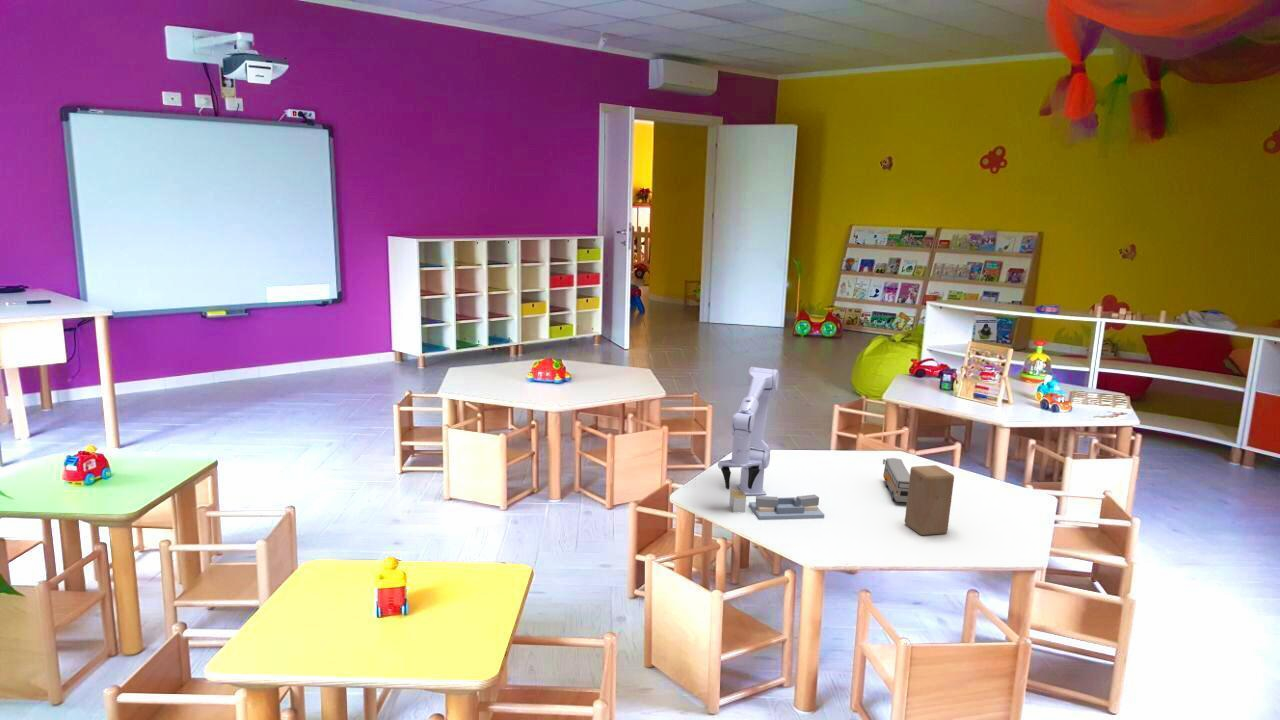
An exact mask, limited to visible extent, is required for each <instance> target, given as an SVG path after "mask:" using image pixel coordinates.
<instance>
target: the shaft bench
mask: <svg viewBox="0 0 1280 720" xmlns="http://www.w3.org/2000/svg"><path fill="white" fill-rule="evenodd" d="M819 503H820V497H819V496H817V495H816V494H807V495H799V496H796V497H794V496H793V497H791V496H790V497H778V496H767V495H755V501H751V502H750V501H749V502H748V507H749V508H750V509H751V511H752V512H753V513H754V514H755V516H756V517H757V519H758V520H760V521H762V520H764V521H766V520H797V519H798V520H802V519H806V520H807V519H824V518H825V514H824V512H823V511H822V510H821V509H820V508H819V507H818V506H819Z"/></svg>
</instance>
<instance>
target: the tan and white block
mask: <svg viewBox="0 0 1280 720" xmlns="http://www.w3.org/2000/svg"><path fill="white" fill-rule="evenodd" d="M729 490H730V491H729V503H728V504H729V506H728V507H729V509H730V508H731V509H730V510H731V511H733V512H740V513H746V505H747V504H746V503H747V495H746V494H745V493H744V492H743V490H740V489H729ZM733 512H732V513H733Z"/></svg>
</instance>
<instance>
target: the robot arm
mask: <svg viewBox="0 0 1280 720" xmlns="http://www.w3.org/2000/svg"><path fill="white" fill-rule="evenodd" d="M779 374H780V373H779V371H778V369H773V368H763V367H757V366H756V367H755V366H753V365H752V366H751V367H750V368H749V369H748V373H747V382H748V385H749V388H748V393H747V396H745V397H743V398H742V400H741V402H740V406H739V408H738V410H737V412H736V413H734V414H733V415H732V418H731V419H732V420H731V431H732V432H731V434H732V447H731V448H732V449H731V450H732V451H731V459H725V460H718V461H717V467H718V469H720V470H721V473H722V475H723V479H724V485H725V489H726V490H730V480H731V474H732V471H731V469H730V468H733V469H734V468H741V469H740V481H739V482H740V483H738V484H737V487H738V488H739V490H743V492H744V493H745V494H746V496H767V492H766V491H765V490H764V476H765V469H767V468H768V467H769V465H770V462H771V461H770V460H771V448H770V445H769V444H768V443H766V442H765V433H766V427H767V421H768V414H769V409H770V408H769V407H770V401H771V397H772V395H774V394H776V393H777V390H778V386H779V380H780V379H779V378H780V376H779Z"/></svg>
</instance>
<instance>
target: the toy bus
mask: <svg viewBox="0 0 1280 720" xmlns="http://www.w3.org/2000/svg"><path fill="white" fill-rule="evenodd" d="M882 464H883V465H884V469H883V478H884V481H885V483H884V484H885V485H884V486H885V488H888V489H889V491H890V493H891V500H892V502H897V503H898V502H900V503H907V497H908V488H909V480H910V473H909V471H908V470H907V468H906V466H905V464H904V462H903V459H901V458H895V457H891V458H890V457H889V458H883V460H882Z"/></svg>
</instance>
